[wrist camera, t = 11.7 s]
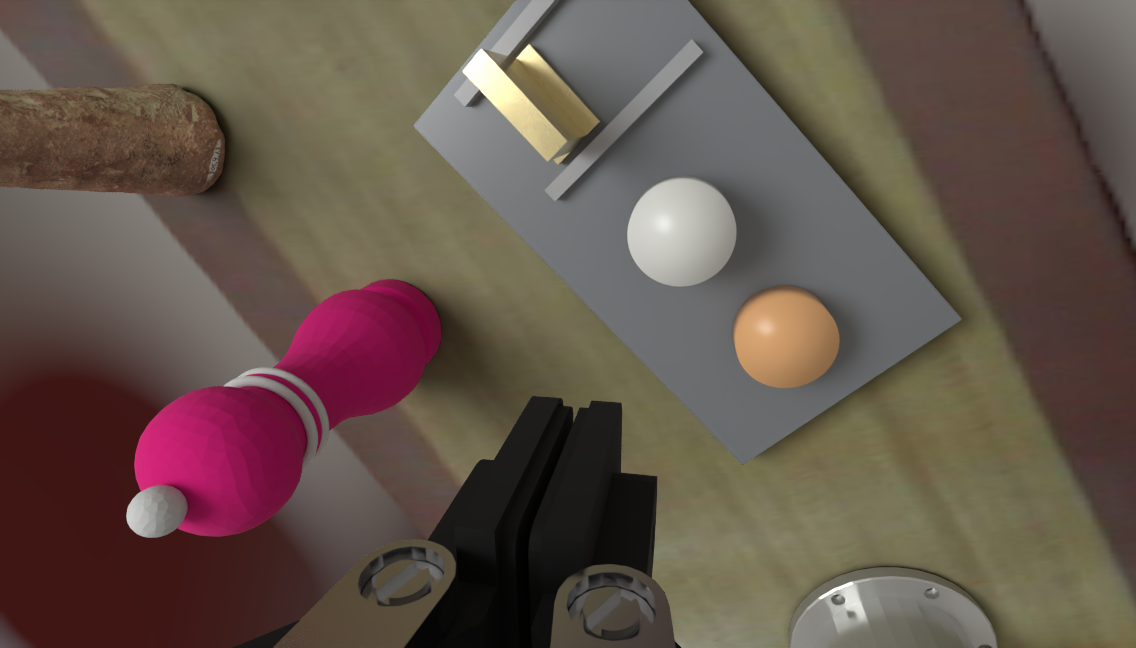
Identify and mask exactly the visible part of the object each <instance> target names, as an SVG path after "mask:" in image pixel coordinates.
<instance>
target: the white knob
mask: <svg viewBox="0 0 1136 648" xmlns="http://www.w3.org/2000/svg"><path fill="white" fill-rule="evenodd" d="M736 231H737V230H736V222H735V218H734V215H733V212H732V210H731V208H730V206H729V204H728V202H727V200H726V198H725V197H724V195H723V194H722V193H721V192H720V191H719V190H718V189H717V188H716V187H715V186H714V185H712V184H711V183H709V182H707V181H706V180H703V179H701V178H698V177H694V176H686V175H682V176H673V177H669V178H666V179H663V180H661V181H659V182H657V183H655V184H654V185H652V186H651V187H650V188H649V189H647V190H646V191H645V192H644V193H643V195H642V196H641V197H640V199H639V200H638V202H637V204H636V205H635V208H634V210H633V212H632V215H631V217H630V220H629V224H628V231H627V239H628V246H629V250H630V253H631V255H632V257H633V259H634V261H635V263H636V264H637V266H638V267H639V268H640V269H641V270H642V271H643V272H644V273H645V274H646V275H647V276H649V277H650V278H652V279H653V280H655V281H657V282H660V283H662V284H665V285H670V286H677V287H682V286H691V285H695V284H699V283H701V282H704V281H706V280H708V279H709V278H711V277H713V276H714V275H715V274H717V273H718V272H719V271H720V270H721V269H722V268H723V267H724V265H725V264H726V263H727V261H728V260H729V258H730V256H731V254H732V252H733V249H734V246H735V242H736Z"/></svg>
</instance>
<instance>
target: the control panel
mask: <svg viewBox="0 0 1136 648" xmlns="http://www.w3.org/2000/svg"><path fill="white" fill-rule="evenodd" d="M528 44H530V45H533V46H534V48H535V49H536V50H537V51H538V52H539V53H540V54H541V55H542V56H543V57H544V59H545V60H546V61H547V62H548V63H549V64H550V65H551V66H552V67H553V68H554V69H555V71H556V72H557V73H558V74H559V75H560V76H561V77H562V78H563V79H564V80H565V81H566V83H567V84H568V85H569V86H570V87H571V88H572V89H573V90H574V91H575V92H576V93H577V95H578V96H579V97H580V98H581V99H582V100H583V101H584V102H585V103H586V104H587V105H588V107H589V108H590V109H591V110H592V111H593V112H594V113H595V114H596V115H597V116H598V118H599V119H600V120H601V122H600V124H599V125H598V126H597V127H596V128H595V129H594V130H593V131H592V132H591V133H590V134H589V135H588V136H587V137H586V138H585V139H584V140H583V141H582V142H581V143H580V144H579V145H578V146H577V147H576V148H575V149H574V150H573V151H572V152H571V154H570V155H569V156H568V157H567V158H566V159H565V160H564V161H563V162H562V163H561V164H559V165H558V164H557V163H556V162H555V161H554V160H551V161H548V162H547V161H546V160H545V158H544V157H543V156H542V155H541V154H540V153H539V152H538V151H537V150H536V149H535V148H534V147H533V146H532V145H531V144H530V143H529V142H528V140H527V139H526V138H525V137H524V136H523V135H522V134H521V133H520V132H519V131H518V130H517V129H516V128H515V127H514V126H513V125H512V123H511V122H510V121H509V120H508V119H507V118H506V117H505V116H504V115H503V114H502V113H501V112H500V111H499V110H498V109H497V108H496V106H495V105H494V104H493V103H492V102H491V101H490V100H489V99H488V98H487V97H486V96H485V95H484V94H483V93H482V92H481V91H480V89H479V88H478V87H477V86H476V85H475V84H474V83H473V82H472V81H471V80H470V79H469V78H468V77H467V76H466V75H465V74H464V73H463V70H464V69H465V68H466V66H467V65H468V64H469V63H470V62H471V60H472V59H473V58H474V57H475V55H476V54H477V53H478V52H479V51H480V49H481V48H482V49H485V50H489V51H492V52H496V53H499V54H503V55H506V56H510V57H513V58H517V57H518V56H519V55H520V54H521V52H522V51H523V50H524V49H525V48H526V47H527V45H528ZM413 127H414V128H415V129H416V130H417V131H418V132H419V133H420V134H421V135H422V136H423V137H424V138H425V139H426V140H427V141H428V142H429V143H430V144H431V145H432V146H433V147H434V148H435V149H436V150H437V151H438V152H439V153H440V154H441V155H442V156H443V157H444V158H445V159H446V160H447V162H448V163H449V164H450V165H451V166H452V167H453V168H454V169H455V170H456V171H457V172H458V173H459V174H460V175H461V176H462V177H463V178H464V179H465V180H466V181H467V182H468V183H469V184H470V185H471V186H472V187H473V188H474V189H475V190H476V191H477V192H478V193H479V194H480V195H481V197H482V198H483V199H484V200H485V201H486V202H487V203H488V204H489V205H490V206H491V207H492V208H493V209H494V210H495V211H496V212H497V213H498V214H499V215H500V216H501V217H502V218H503V219H504V220H505V221H506V222H507V223H508V224H509V225H510V226H511V227H512V228H513V229H514V230H515V231H516V233H517V234H518V235H519V236H520V237H521V238H522V239H523V240H524V241H525V242H526V243H527V244H528V245H529V246H530V247H531V248H532V249H533V250H534V251H535V252H536V253H537V254H538V255H539V256H540V257H541V258H542V259H543V260H544V261H545V262H546V263H547V264H548V265H549V266H550V268H551V269H552V270H553V271H554V272H555V273H556V274H557V275H558V276H559V277H560V278H561V279H562V280H563V281H564V282H565V283H566V284H567V285H568V286H569V287H570V288H571V289H572V290H573V291H574V292H575V293H576V294H577V295H578V296H579V297H580V298H581V299H582V300H583V301H584V303H585V304H586V305H587V306H588V307H589V308H590V309H591V310H592V311H593V312H594V313H595V314H596V315H597V316H598V317H599V318H600V319H601V320H602V321H603V322H604V323H605V324H606V325H607V326H608V327H609V328H610V329H611V330H612V331H613V332H614V333H615V334H616V335H617V336H618V338H619V339H620V340H621V341H622V342H623V343H624V344H625V345H626V346H627V347H628V348H629V349H630V350H631V351H632V352H633V353H634V354H635V355H636V356H637V357H638V358H639V359H640V360H641V361H642V362H643V363H644V364H645V365H646V366H647V367H648V368H649V369H650V370H651V371H652V372H653V374H654V375H655V376H656V377H657V378H658V379H659V380H660V381H661V382H662V383H663V384H664V385H665V386H666V387H667V388H668V389H669V390H670V391H671V392H672V393H673V394H674V395H675V396H676V397H677V398H678V399H679V400H680V401H681V402H682V403H683V404H684V405H685V406H686V407H687V409H688V410H689V411H690V412H691V413H692V414H693V415H694V416H695V417H696V418H697V419H698V420H699V421H700V422H701V423H702V424H703V425H704V426H705V427H706V428H707V429H708V430H709V431H710V432H711V433H712V434H713V435H714V436H715V437H716V438H717V439H718V440H719V441H720V442H721V444H722V445H723V446H724V447H725V448H726V449H727V450H728V451H729V452H730V453H731V454H732V455H733V456H734V457H735V458H736V459H737V460H738V461H739V462H740V463H741V464H742V465H744V464H745V463H747V462H748V461H750V460H751V459H753V458H754V457H756V456H757V455H759V454H760V453H762V452H763V451H765V450H766V449H768V448H769V447H771V446H772V445H774V444H775V443H777V442H778V441H780V440H781V439H783V438H784V437H786V436H787V435H789V434H790V433H792V432H793V431H795V430H796V429H798V428H799V427H801V426H802V425H804V424H805V423H807V422H808V421H810V420H811V419H813V418H814V417H816V416H817V415H819V414H821V413H822V412H824V411H825V410H827V409H828V408H830V407H831V406H833V405H834V404H836V403H837V402H839V401H840V400H842V399H843V398H845V397H846V396H848V395H849V394H851V393H852V392H854V391H855V390H857V389H858V388H860V387H861V386H863V385H864V384H866V383H867V382H869V381H870V380H872V379H873V378H875V377H876V376H878V375H879V374H881V373H882V372H884V371H885V370H887V369H888V368H890V367H891V366H893V365H894V364H896V363H897V362H899V361H900V360H902V359H903V358H905V357H906V356H908V355H909V354H911V353H912V352H914V351H915V350H917V349H918V348H920V347H921V346H923V345H924V344H926V343H927V342H929V341H930V340H932V339H934V338H935V337H937V336H938V335H940V334H941V333H943V332H944V331H946V330H947V329H949V328H950V327H952V326H953V325H955V324H956V323H958V322H959V321H961V320H962V319H961V317H960V316H959V315H958V314H957V313H956V312H955V310H954V309H953V308H952V307H951V306H950V305H949V304H948V302H947V301H946V300H945V299H944V298H943V297H942V295H941V294H940V293H939V292H938V291H937V290H936V288H935V287H934V286H933V285H932V284H931V283H930V281H929V280H928V279H927V278H926V277H925V276H924V274H923V273H922V272H921V271H920V270H919V269H918V267H917V266H916V265H915V264H914V263H913V262H912V260H911V259H910V258H909V257H908V256H907V255H906V254H905V252H904V251H903V250H902V249H901V248H900V247H899V245H898V244H897V243H896V242H895V241H894V240H893V238H892V237H891V236H890V235H889V234H888V233H887V231H886V230H885V229H884V228H883V227H882V226H881V224H880V223H879V222H878V221H877V220H876V219H875V217H874V216H873V215H872V214H871V213H870V212H869V210H868V209H867V208H866V207H865V206H864V205H863V203H862V202H861V201H860V200H859V199H858V198H857V197H856V195H855V194H854V193H853V192H852V191H851V190H850V188H849V187H848V186H847V185H846V184H845V183H844V181H843V180H842V179H841V178H840V177H839V176H838V174H837V173H836V172H835V171H834V170H833V169H832V167H831V166H830V165H829V164H828V163H827V162H826V160H825V159H824V158H823V157H822V156H821V155H820V153H819V152H818V151H817V150H816V149H815V148H814V147H813V145H812V144H811V143H810V142H809V141H808V140H807V138H806V137H805V136H804V135H803V134H802V133H801V131H800V130H799V129H798V128H797V127H796V126H795V124H794V123H793V122H792V121H791V120H790V119H789V117H788V116H787V115H786V114H785V113H784V112H783V110H782V109H781V108H780V107H779V106H778V105H777V103H776V102H775V101H774V100H773V99H772V98H771V96H770V95H769V94H768V93H767V92H766V91H765V90H764V88H763V87H762V86H761V85H760V84H759V83H758V81H757V80H756V79H755V78H754V77H753V76H752V74H751V73H750V72H749V71H748V70H747V69H746V67H745V66H744V65H743V64H742V63H741V62H740V60H739V59H738V58H737V57H736V56H735V55H734V53H733V52H732V51H731V50H730V49H729V48H728V46H727V45H726V44H725V43H724V42H723V41H722V40H721V38H720V37H719V36H718V35H717V34H716V33H715V31H714V30H713V29H712V28H711V27H710V26H709V24H708V23H707V22H706V21H705V20H704V19H703V17H702V16H701V15H700V14H699V13H698V12H697V10H696V9H695V8H694V7H693V6H692V5H691V3H690V2H689V1H688V0H516V1H515V2H514V3H513V4H512V6H511V7H510V8H509V9H508V10H507V12H506V13H505V14H504V15H503V17H502V18H501V19H500V20H499V22H498V23H497V24H496V25H495V26H494V28H493V29H492V30H491V31H490V33H489V34H488V35H487V36H486V37H485V39H484V40H483V41H482V42H481V44H480V45H479V46H478V47H477V49H476V50H475V51H474V52H473V53H472V55H471V56H470V57H469V58H468V60H467V61H466V62H465V63H464V64H463V66H462V67H461V68H460V69H459V71H458V72H457V73H456V74H455V75H454V77H453V78H452V79H451V80H450V82H449V83H448V84H447V85H446V87H445V88H444V89H443V90H442V91H441V93H440V94H439V95H438V96H437V98H436V99H435V100H434V101H433V102H432V104H431V105H430V106H429V107H428V109H427V110H426V111H425V112H424V114H423V115H422V116H421V117H420V118H419V120H418V121H417V122H416V123H415V125H414V126H413ZM682 175H686V176H694V177H698V178H701V179H703V180H706V181H707V182H709V183H711V184H712V185H714V186H715V187H716V188H717V189H718V190H719V191H720V192H721V193H722V194H723V195H724V197H725V198H726V200H727V202H728V204H729V206H730V208H731V210H732V212H733V215H734V218H735V222H736V230H737V231H736V242H735V246H734V249H733V252H732V254H731V256H730V258H729V260H728V261H727V263H726V264H725V265H724V267H723V268H722V269H721V270H720V271H719V272H718V273H717V274H715V275H714V276H713V277H711V278H709V279H708V280H706V281H704V282H701V283H699V284H695V285H691V286H682V287H677V286H670V285H665V284H662V283H660V282H657V281H655V280H653V279H652V278H650V277H649V276H647V275H646V274H645V273H644V272H643V271H642V270H641V269H640V268H639V267H638V266H637V264H636V263H635V261H634V259H633V257H632V255H631V253H630V250H629V246H628V239H627V231H628V224H629V220H630V217H631V215H632V212H633V210H634V208H635V205H636V204H637V202H638V200H639V199H640V197H641V196H642V195H643V193H644V192H645V191H646V190H647V189H649V188H650V187H651V186H652V185H654V184H655V183H657V182H659V181H661V180H663V179H666V178H669V177H673V176H682ZM779 285H789V286H795V287H799V288H802V289H805V290H807V291H809V292H810V293H812V294H813V295H815V296H816V297H817V298H818V299H819V300H820V301H821V302H822V304H823V305H824V306H825V308H826V309H827V310H828V312H829V313H830V315H831V316H832V317H833V319H834V321H835V323H836V325H837V328H838V331H839V340H840V342H839V349H838V353H837V355H836V358H835V360H834V362H833V363H832V365H831V366H830V367H829V369H828V370H827V371H826V372H825V373H824V374H823V375H821V376H820V377H819V378H817V379H816V380H814V381H812V382H810V383H808V384H806V385H803V386H799V387H794V388H776V387H771V386H767V385H765V384H762V383H760V382H758V381H757V380H755V379H754V378H752V377H751V376H750V375H749V374H748V373H747V372H746V371H745V370H744V369H743V367H742V365H741V364H740V362H739V359H738V357H737V353H736V348H735V344H734V340H733V322H734V319H735V316H736V314H737V312H738V310H739V308H740V307H741V305H742V304H743V303H744V302H745V301H746V300H747V299H748V298H749V297H750V296H752V295H753V294H755V293H757V292H758V291H760V290H763V289H765V288H768V287H772V286H779Z"/></svg>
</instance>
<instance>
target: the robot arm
mask: <svg viewBox="0 0 1136 648" xmlns="http://www.w3.org/2000/svg"><path fill="white" fill-rule="evenodd" d="M621 437H622V405H621V403H616V402H603V401H591V403H590V406H589V408H581V407H580V408H579V411H578V413H577V416H576V418H575V421H574V423H573V408H572V407H568V406H563V400H562V398H550V397H537V396H532V398H531V399H530V401H529V402H528V404H527V406H526V407H525V409H524V411H523V412H522V414H521V416H520V417H519V419H518V421H517V422H516V424H515V426H514V427H513V429H512V431H511V432H510V434H509V436H508V437H507V439H506V441H505V442H504V444H503V446H502V447H501V449H500V451H499V452H498V454H497V456H496V457H495V459H494V460H486V459H483V460H480V461H479V462H478V463H477V464H476V466H475V467H474V469H473V470H472V472H471V474H470V475H469V477H468V478H467V480H466V481H465V483H464V484H463V486H462V488H461V489H460V491H459V492H458V494H457V495H456V497H455V498H454V500H453V502H452V503H451V505H450V506H449V508H448V509H447V511H446V512H445V514H444V516H443V517H442V519H441V520H440V522H439V523H438V525H437V526H436V528H435V530H434V531H433V533H432V534H431V536H430V537H429V539H428V540H427V541H426V540H418V539H415V540H404V541H398V542H395V543H391V544H388V545H385V546H383V547H381V548H379V549H377V550H375V551H373V552H371V553H369V554H368V555H367V556H365V557H364V558H363V559H362V560H360V561H359V562H358V563H357V564H356V565H355V566H354V567H353V568H352V569H351V570H350V571H349V572H348V573H347V574H346V575H345V576H344V577H343V578H342V579H341V580H340V581H339V582H338V583H337V584H336V585H335V586H334V587H333V588H332V589H331V590H330V591H329V592H328V593H327V594H326V595H325V596H324V597H323V598H322V599H321V600H320V601H319V602H318V603H317V604H316V605H315V606H314V607H313V608H312V609H311V610H310V611H309V612H308V613H307V614H306V615H305V616H304V617H303V618H302V619H301V620H298V621H296V622H294V623H291V624H289V625H286V626H284V627H282V628H279V629H277V630H274V631H272V632H270V633H267V634H265V635H262V636H260V637H257V638H255V639H253V640H250V641H248V642H245V643H243V644H241V645H238V646H236V647H233V648H681V647H680V646H679V645H678V644H677V643H676V642H675V640H674V633H673V626H672V620H671V613H670V607H669V603H668V600H667V598H666V595H665V592H664V591H663V590H662V588H661V587H660V586H659V585H658V584H657V582H656V581H655V580H653V579H652V568H653V556H654V542H655V525H656V502H657V476H649V475H639V474H628V473H621ZM789 648H998V645H997V637H996V635H995V632H994V630H993V628H992V625H991V623H990V621H989V620H988V618H987V616H986V615H985V613H984V612H983V610H982V608H981V607H980V606H979V605H978V603H977V602H976V601H975V600H974V599H973V598H972V597H971V596H970V595H969V594H968V593H966V592H965V591H964V590H962V589H961V588H959V587H958V586H957V585H955V584H953V583H951V582H949V581H947V580H945V579H943V578H941V577H939V576H936V575H933V574H930V573H926V572H923V571H919V570H914V569H906V568H899V567H877V568H870V569H863V570H857V571H854V572H850V573H847V574H844V575H840V576H838V577H836V578H834V579H832V580H830V581H828V582H826V583H824V584H822V585H821V586H819V587H818V588H817V589H815V590H814V591H813V592H811V593H810V594H809V595H808V596H807V597H806V598H805V599H804V600H803V601H802V603H801V604H800V605H799V606H798V608H797V610H796V612H795V613H794V615H793V617H792V620H791V624H790V628H789Z"/></svg>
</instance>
